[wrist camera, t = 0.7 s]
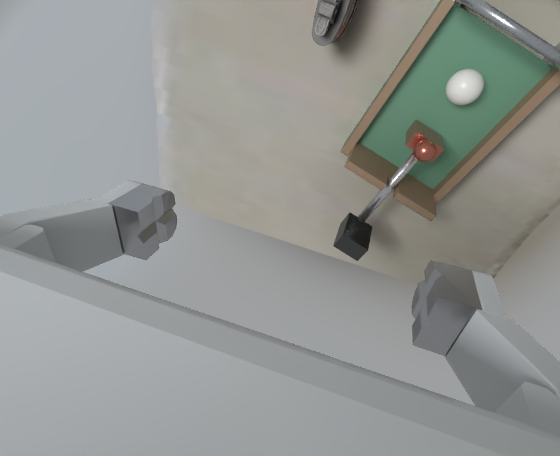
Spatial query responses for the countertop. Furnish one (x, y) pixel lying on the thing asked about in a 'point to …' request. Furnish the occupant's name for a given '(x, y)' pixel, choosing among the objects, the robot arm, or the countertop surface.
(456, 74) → the ball
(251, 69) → the countertop surface
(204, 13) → the countertop surface
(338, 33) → the lighter
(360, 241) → the rod
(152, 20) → the countertop surface
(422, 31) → the pitch
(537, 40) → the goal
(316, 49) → the countertop surface
